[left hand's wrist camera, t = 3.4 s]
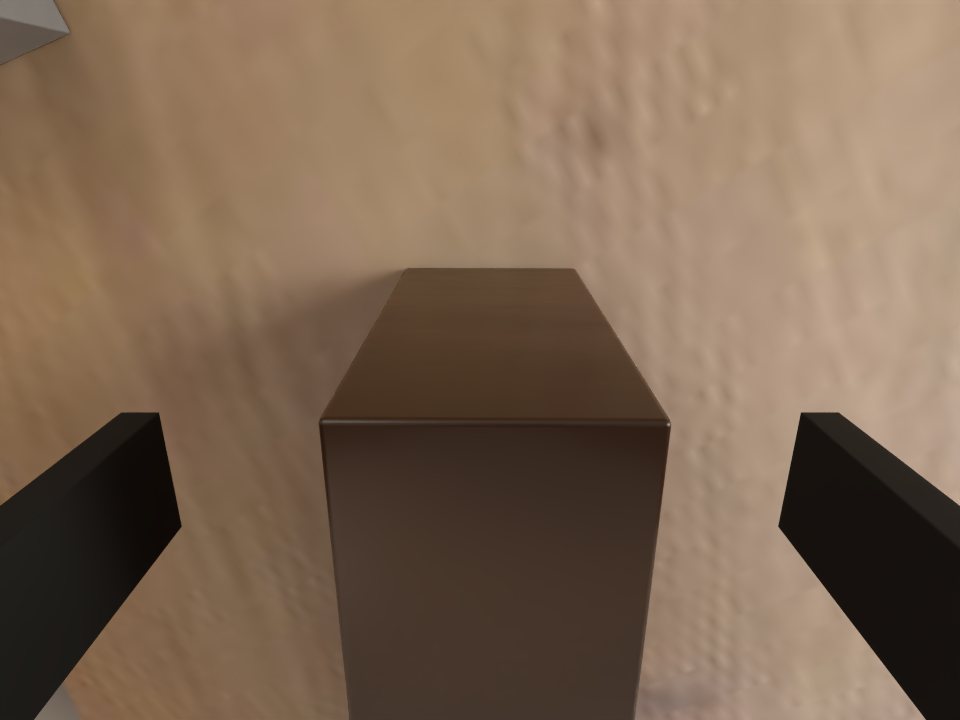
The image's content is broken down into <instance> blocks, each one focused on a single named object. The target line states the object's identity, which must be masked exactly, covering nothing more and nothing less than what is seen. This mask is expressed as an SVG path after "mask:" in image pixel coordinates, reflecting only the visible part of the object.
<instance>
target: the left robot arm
mask: <svg viewBox="0 0 960 720" xmlns="http://www.w3.org/2000/svg"><path fill="white" fill-rule="evenodd" d="M181 527H182V526H181V521H180V516H179V511H178V506H177V501H176V496H175V491H174V486H173V481H172V476H171V471H170V466H169V461H168V456H167V451H166V446H165V441H164V436H163V431H162V426H161V421H160V416H159V413H120V414H119V415H118V416H116V417H115V418H114V419H112V420H111V421H110V422H108V423H107V424H106V425H105V426H103V427H102V428H101V429H99V430H98V431H97V432H95V433H94V434H93V435H92V436H90V437H89V438H88V439H86V440H85V441H84V442H83V443H81V444H80V445H79V446H77V447H76V448H75V449H73V450H72V451H71V452H70V453H68V454H67V455H66V456H64V457H63V458H62V459H60V460H59V461H58V462H57V463H55V464H54V465H53V466H51V467H50V468H49V469H47V470H46V471H45V472H44V473H42V474H41V475H40V476H38V477H37V478H36V479H34V480H33V481H32V482H31V483H29V484H28V485H27V486H25V487H24V488H23V489H22V490H20V491H19V492H18V493H16V494H15V495H14V496H12V497H11V498H10V499H9V500H7V501H6V502H5V503H3V504H2V505H1V506H0V720H34V719H35V718H36V716H37V715H38V714H39V712H40V711H41V710H42V708H43V707H44V706H45V705H46V703H47V702H48V701H49V699H50V698H51V697H52V695H53V694H54V693H55V691H56V690H57V689H58V688H59V686H60V685H61V684H62V682H63V681H64V680H65V678H66V677H67V676H68V674H69V673H70V672H71V671H72V669H73V668H74V667H75V665H76V664H77V663H78V661H79V660H80V659H81V657H82V656H83V655H84V654H85V652H86V651H87V650H88V648H89V647H90V646H91V644H92V643H93V642H94V640H95V639H96V638H97V637H98V635H99V634H100V633H101V631H102V630H103V629H104V627H105V626H106V625H107V623H108V622H109V621H110V620H111V618H112V617H113V616H114V614H115V613H116V612H117V610H118V609H119V608H120V606H121V605H122V604H123V603H124V601H125V600H126V599H127V597H128V596H129V595H130V593H131V592H132V591H133V589H134V588H135V587H136V586H137V584H138V583H139V582H140V580H141V579H142V578H143V576H144V575H145V574H146V572H147V571H148V570H149V569H150V567H151V566H152V565H153V563H154V562H155V561H156V559H157V558H158V557H159V555H160V554H161V553H162V552H163V550H164V549H165V548H166V546H167V545H168V544H169V542H170V541H171V540H172V538H173V537H174V536H175V535H176V533H177V532H178V531H179V529H180V528H181ZM778 527H779V528H780V529H781V531H782V532H783V533H784V535H785V536H786V537H787V538H788V540H789V541H790V542H791V544H792V545H793V546H794V548H795V549H796V550H797V552H798V553H799V554H800V555H801V557H802V558H803V559H804V561H805V562H806V563H807V565H808V566H809V567H810V569H811V570H812V571H813V572H814V574H815V575H816V576H817V578H818V579H819V580H820V582H821V583H822V584H823V586H824V587H825V588H826V589H827V591H828V592H829V593H830V595H831V596H832V597H833V599H834V600H835V601H836V603H837V604H838V605H839V606H840V608H841V609H842V610H843V612H844V613H845V614H846V616H847V617H848V618H849V620H850V621H851V622H852V623H853V625H854V626H855V627H856V629H857V630H858V631H859V633H860V634H861V635H862V637H863V638H864V639H865V640H866V642H867V643H868V644H869V646H870V647H871V648H872V650H873V651H874V652H875V654H876V655H877V656H878V657H879V659H880V660H881V661H882V663H883V664H884V665H885V667H886V668H887V669H888V671H889V672H890V673H891V674H892V676H893V677H894V678H895V680H896V681H897V682H898V684H899V685H900V686H901V688H902V689H903V690H904V691H905V693H906V694H907V695H908V697H909V698H910V699H911V701H912V702H913V703H914V705H915V706H916V707H917V708H918V710H919V711H920V712H921V714H922V715H923V716H924V718H925V719H926V720H960V506H959V505H958V504H957V503H955V502H954V501H953V500H951V499H950V498H949V497H948V496H946V495H945V494H944V493H942V492H941V491H940V490H938V489H937V488H936V487H935V486H933V485H932V484H931V483H929V482H928V481H927V480H926V479H924V478H923V477H922V476H920V475H919V474H918V473H916V472H915V471H914V470H913V469H911V468H910V467H909V466H907V465H906V464H905V463H903V462H902V461H901V460H900V459H898V458H897V457H896V456H894V455H893V454H892V453H890V452H889V451H888V450H887V449H885V448H884V447H883V446H881V445H880V444H879V443H877V442H876V441H875V440H874V439H872V438H871V437H870V436H868V435H867V434H866V433H865V432H863V431H862V430H861V429H859V428H858V427H857V426H855V425H854V424H853V423H852V422H850V421H849V420H848V419H846V418H845V417H844V416H842V415H841V414H840V413H801V416H800V421H799V426H798V431H797V436H796V441H795V446H794V451H793V456H792V461H791V466H790V471H789V476H788V481H787V486H786V491H785V496H784V501H783V506H782V511H781V516H780V521H779V526H778Z"/></svg>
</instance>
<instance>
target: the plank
mask: <svg viewBox="0 0 960 720" xmlns="http://www.w3.org/2000/svg"><path fill="white" fill-rule="evenodd" d="M670 430H671V422H670V420H669V418H668V416H667V415H666V413H665V412H664V410H663V408H662V407H661V405H660V404H659V402H658V400H657V399H656V397H655V396H654V394H653V393H652V391H651V389H650V388H649V386H648V385H647V383H646V381H645V380H644V378H643V377H642V375H641V373H640V372H639V370H638V369H637V367H636V366H635V364H634V362H633V361H632V359H631V358H630V356H629V354H628V353H627V351H626V350H625V348H624V346H623V345H622V343H621V342H620V340H619V339H618V337H617V335H616V334H615V332H614V331H613V329H612V327H611V326H610V324H609V323H608V321H607V319H606V318H605V316H604V315H603V313H602V311H601V310H600V308H599V307H598V305H597V304H596V302H595V300H594V299H593V297H592V296H591V294H590V292H589V291H588V289H587V288H586V286H585V284H584V283H583V281H582V280H581V278H580V277H579V275H578V273H577V272H576V270H575V269H511V268H408V269H406V270H405V272H404V273H403V275H402V277H401V279H400V280H399V282H398V284H397V286H396V287H395V289H394V291H393V293H392V294H391V296H390V298H389V300H388V301H387V303H386V305H385V307H384V308H383V310H382V312H381V313H380V315H379V317H378V319H377V320H376V322H375V324H374V326H373V327H372V329H371V331H370V333H369V334H368V336H367V338H366V340H365V341H364V343H363V345H362V347H361V348H360V350H359V352H358V353H357V355H356V357H355V359H354V360H353V362H352V364H351V366H350V367H349V369H348V371H347V373H346V374H345V376H344V378H343V380H342V381H341V383H340V385H339V387H338V388H337V390H336V392H335V393H334V395H333V397H332V399H331V400H330V402H329V404H328V406H327V407H326V409H325V411H324V413H323V414H322V416H321V418H320V420H319V431H320V441H321V450H322V460H323V470H324V479H325V489H326V498H327V508H328V517H329V527H330V536H331V546H332V555H333V565H334V575H335V584H336V594H337V603H338V613H339V622H340V632H341V641H342V651H343V661H344V670H345V680H346V689H347V699H348V708H349V718H350V720H635V712H636V704H637V696H638V688H639V680H640V672H641V664H642V656H643V648H644V640H645V632H646V624H647V616H648V608H649V600H650V591H651V583H652V575H653V567H654V559H655V551H656V543H657V535H658V527H659V519H660V511H661V503H662V495H663V487H664V479H665V471H666V463H667V454H668V446H669V438H670Z"/></svg>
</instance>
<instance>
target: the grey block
mask: <svg viewBox="0 0 960 720" xmlns="http://www.w3.org/2000/svg"><path fill="white" fill-rule="evenodd" d="M69 33H70V31H69V29H68V27H67V26H66V24H65V22H64V20H63V18H62V16H61V14H60V12H59V11H58V9H57V7H56V5H55V3H54V1H53V0H0V65H1V64H3V63H5V62H8V61H10V60H12V59H14V58H16V57H19V56H21V55H23V54H25V53H27V52H30V51H32V50H34V49H36V48H38V47H41V46H43V45H45V44H47V43H50V42H52V41H54V40H56V39H58V38H61V37H63V36H65V35H67V34H69Z"/></svg>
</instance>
